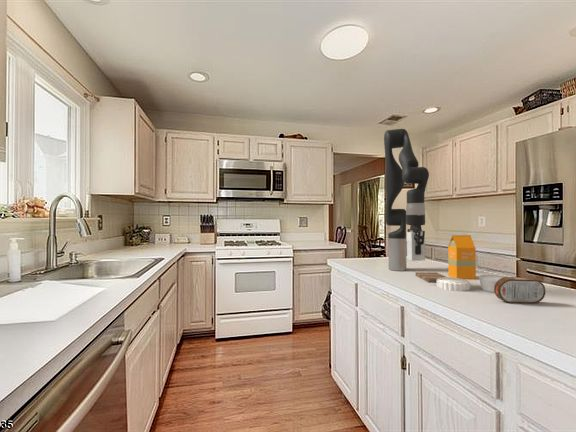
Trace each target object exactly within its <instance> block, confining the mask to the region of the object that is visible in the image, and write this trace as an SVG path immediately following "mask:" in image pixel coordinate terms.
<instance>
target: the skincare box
mask: <svg viewBox="0 0 576 432" xmlns="http://www.w3.org/2000/svg"><path fill="white" fill-rule="evenodd" d="M414 235H415V233H412V232H408V231H406V260H408V261H412V262H418V261H426V240H425V239H426V238H425V236H424V244H423V245H422V246H421V255H416V254H415V240H414ZM415 238H417V237H416V236H415Z"/></svg>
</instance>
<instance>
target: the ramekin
mask: <svg viewBox="0 0 576 432" xmlns="http://www.w3.org/2000/svg"><path fill="white" fill-rule="evenodd" d="M503 277H506V276H505V275H504V276H503V275H498V274H497V275H495V274H481V275H479V276H478V279H479V283H480V288H481V290H483V291H484V292H486V293H491V294H495V292H494V286H495V284H496V282H497V281H498V280H499V279H501V278H503Z"/></svg>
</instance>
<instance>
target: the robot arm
mask: <svg viewBox="0 0 576 432" xmlns="http://www.w3.org/2000/svg"><path fill="white" fill-rule="evenodd" d="M383 136H384V137H383V142H384V143H383V145H384V159H385V173H384V174H385V175H384V176H385V224H386V226H389V227H391V226H393V227H395V226H397V227H399V228H397V229H396V230H394V231H391V232H389V233H388V235H387V236H388V237H387V238H388V240H387V243H388V270H389V271H395V272H403V271H407V232H412V233H415V235H414V240H415V254H416V255H421V246H422V245H423V244H424V236H425V235H426V234H425V232H426V231H425V230H423V229H422V226H425V225H426V207H425V194H426V193H425V192H426V189H427V184H428V181H429V178H430V171H429V170H428V168H427V167H424V166H419V161H418V159H417V156H416V155H415V153H414V151H413V148H412V143H411V139H410V135H409V133H408V131H407V130H406V129H405V128H395V129H388V130H386V131H385V132H384V135H383ZM397 148H398V149H400V148H402V149H401V151H400V152H399V153H398V154H399V155H398V162H397V161H396V160H397V159H395V157H394V156H395V155H394V154H393V149H397ZM399 164H400V165H399ZM405 184H407V185H408V184H409V185H412V184H413V185H414V184H416V185H417V186H416V187H415V188H412V189H408V190H407V191H406V209H405V208H393V206H394V203H395V201H396V199H397V197H398V196H399V195H400V193H401V191H402V190H403V188H404V185H405ZM407 226H409V228H407ZM415 236H416V237H417V238H415Z"/></svg>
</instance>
